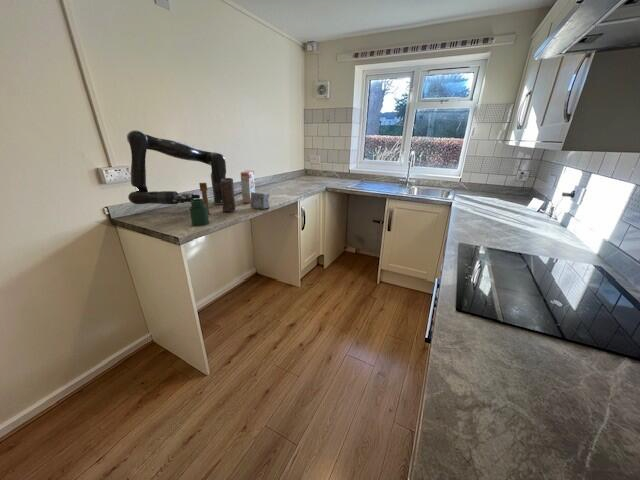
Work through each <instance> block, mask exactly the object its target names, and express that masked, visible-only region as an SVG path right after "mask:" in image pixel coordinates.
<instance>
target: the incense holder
mask: <svg viewBox="0 0 640 480" xmlns="http://www.w3.org/2000/svg"><path fill="white" fill-rule="evenodd" d="M269 199H270V193H267V192H266V193H265V192H259V191H255V192H251V203H250V208H256V209H257V210H260V209H261V210H263V209H269V208H270V204H269Z"/></svg>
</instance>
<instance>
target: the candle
mask: <svg viewBox="0 0 640 480" xmlns="http://www.w3.org/2000/svg"><path fill="white" fill-rule="evenodd" d="M220 181H221V193H222V212H226V213H231V212H234V211H236V201H235V195H234V194H235V187H234V179H233V178H231V177H226V178H224V179H221V180H220Z"/></svg>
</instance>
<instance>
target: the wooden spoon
mask: <svg viewBox="0 0 640 480" xmlns="http://www.w3.org/2000/svg"><path fill="white" fill-rule="evenodd" d="M199 191H200V192H201V197H202V198H201V199H203V200H204V205H206V206H207V211H208V216H210V207H209V200H208V199H209V198H208V192H207V191H208V184H207V182H199Z"/></svg>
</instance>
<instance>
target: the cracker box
mask: <svg viewBox="0 0 640 480" xmlns="http://www.w3.org/2000/svg"><path fill="white" fill-rule="evenodd" d="M255 183H256V182H255V171H254V170H247V169H245V170H244V171H241V172H240V185H241V186H240V187H241V192H242V193H241V197H242V198H241V199H242V203H243V204H251V192H256V186H255Z"/></svg>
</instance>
